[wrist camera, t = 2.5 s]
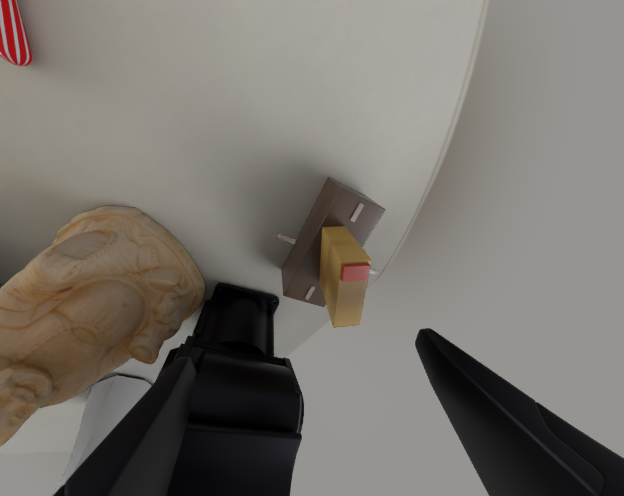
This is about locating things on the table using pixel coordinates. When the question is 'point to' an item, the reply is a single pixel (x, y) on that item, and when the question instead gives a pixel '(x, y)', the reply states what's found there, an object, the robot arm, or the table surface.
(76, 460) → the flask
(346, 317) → the tan flat block
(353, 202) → the miniature drawer cabinet
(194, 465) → the robot arm
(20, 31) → the candy cane
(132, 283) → the statue
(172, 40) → the table surface
